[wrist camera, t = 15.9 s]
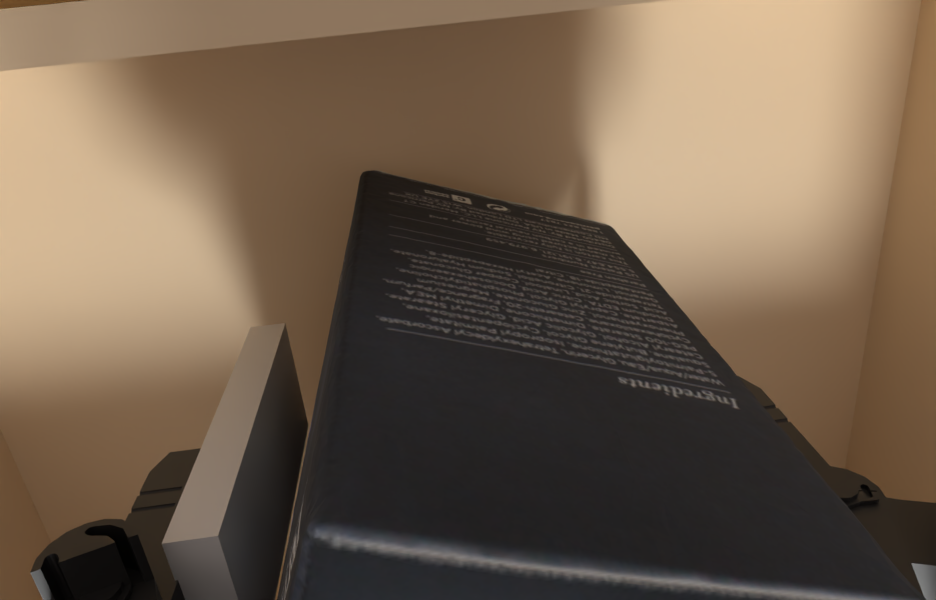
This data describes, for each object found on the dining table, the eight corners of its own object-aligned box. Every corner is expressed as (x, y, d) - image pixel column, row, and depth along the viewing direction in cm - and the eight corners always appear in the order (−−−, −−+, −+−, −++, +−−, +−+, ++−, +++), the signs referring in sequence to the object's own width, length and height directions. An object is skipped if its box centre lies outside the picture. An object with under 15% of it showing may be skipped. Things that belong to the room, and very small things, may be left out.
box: (356, 161, 14) (296, 529, 5) (613, 220, 16) (979, 612, 6) (296, 470, 17) (185, 1076, 8) (515, 500, 18) (652, 1063, 9)
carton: (83, 605, 22) (-93, 961, 14) (-187, 0, 15) (-873, 26, 7) (854, 494, 23) (1096, 764, 15) (960, -115, 16) (1530, -207, 8)
